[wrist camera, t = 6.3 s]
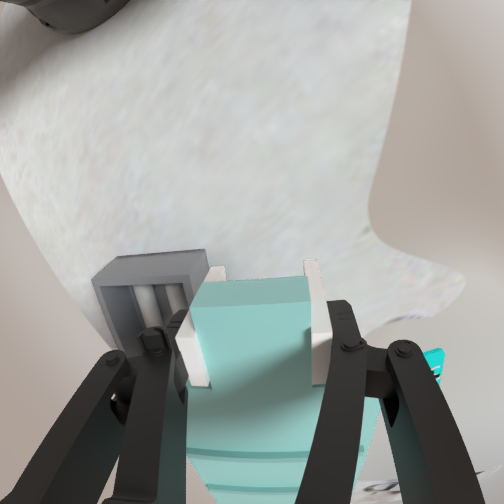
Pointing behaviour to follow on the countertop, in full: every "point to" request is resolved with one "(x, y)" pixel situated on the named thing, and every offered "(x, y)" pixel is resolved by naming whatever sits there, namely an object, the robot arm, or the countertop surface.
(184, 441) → the robot arm
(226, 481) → the lid
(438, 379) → the handheld gaming console
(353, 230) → the countertop surface
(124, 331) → the tub
